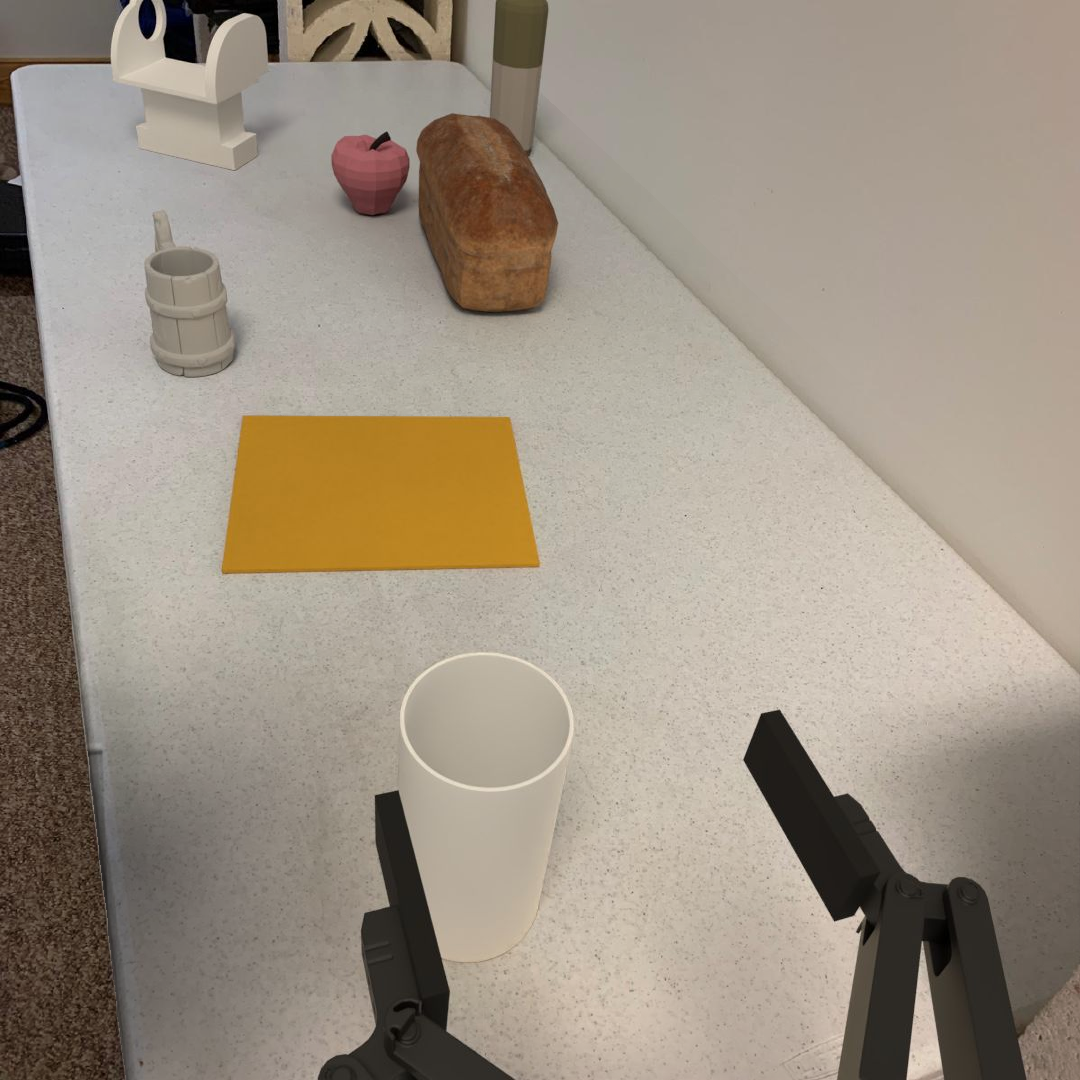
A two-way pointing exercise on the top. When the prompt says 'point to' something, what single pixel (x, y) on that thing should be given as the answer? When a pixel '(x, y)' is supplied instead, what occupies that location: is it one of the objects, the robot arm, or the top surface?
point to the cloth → (377, 495)
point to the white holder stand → (192, 88)
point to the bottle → (518, 65)
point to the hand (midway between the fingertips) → (584, 772)
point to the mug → (186, 307)
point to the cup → (482, 794)
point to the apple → (370, 171)
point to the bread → (485, 213)
